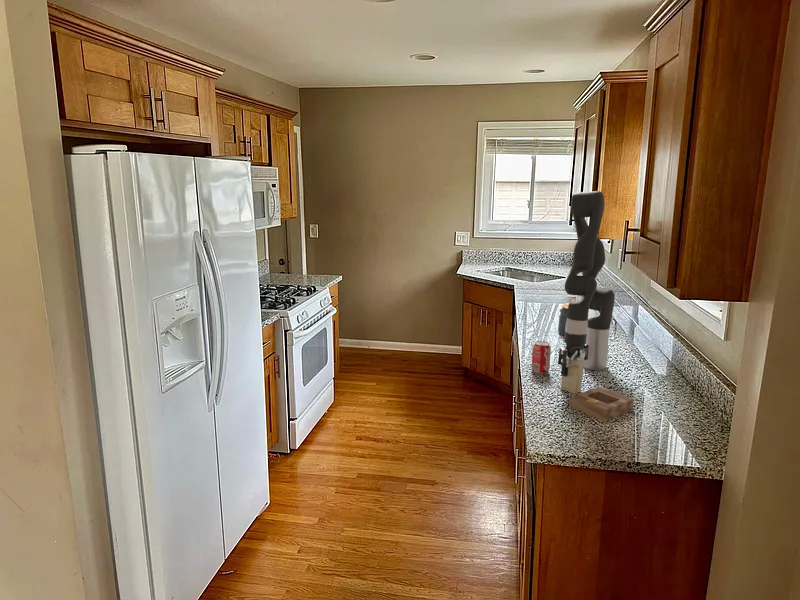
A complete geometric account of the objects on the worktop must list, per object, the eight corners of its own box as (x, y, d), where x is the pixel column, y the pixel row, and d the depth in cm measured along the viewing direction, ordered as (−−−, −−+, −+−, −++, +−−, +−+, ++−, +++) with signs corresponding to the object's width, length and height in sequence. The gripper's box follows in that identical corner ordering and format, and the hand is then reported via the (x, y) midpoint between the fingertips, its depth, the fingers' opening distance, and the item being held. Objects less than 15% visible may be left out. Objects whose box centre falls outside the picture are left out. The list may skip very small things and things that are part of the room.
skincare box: (560, 389, 197) (563, 358, 194) (566, 386, 200) (569, 355, 197) (576, 394, 192) (579, 362, 190) (581, 391, 195) (585, 359, 193)
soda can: (549, 369, 218) (551, 341, 215) (548, 375, 211) (551, 346, 208) (531, 367, 219) (533, 339, 217) (530, 373, 213) (532, 344, 210)
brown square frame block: (598, 397, 190) (599, 386, 189) (632, 409, 180) (634, 398, 179) (570, 407, 181) (571, 395, 180) (605, 421, 171) (606, 409, 170)
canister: (579, 339, 263) (582, 304, 259) (553, 334, 270) (556, 300, 266) (587, 333, 273) (591, 299, 269) (563, 329, 280) (566, 296, 277)
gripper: (579, 326, 198) (575, 367, 202) (554, 331, 190) (550, 374, 193) (597, 330, 192) (592, 373, 196) (572, 336, 184) (567, 380, 188)
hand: (571, 373), depth 195 cm, fingers open, 8 cm apart
